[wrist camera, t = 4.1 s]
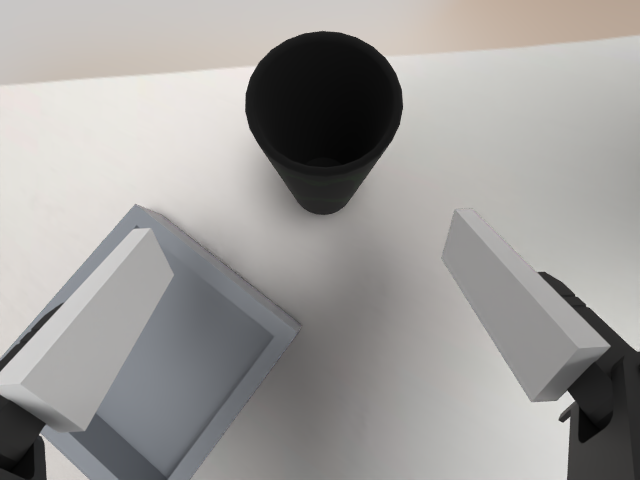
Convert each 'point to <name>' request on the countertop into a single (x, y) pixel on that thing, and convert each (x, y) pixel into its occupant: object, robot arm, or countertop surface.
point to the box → (176, 363)
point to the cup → (323, 114)
